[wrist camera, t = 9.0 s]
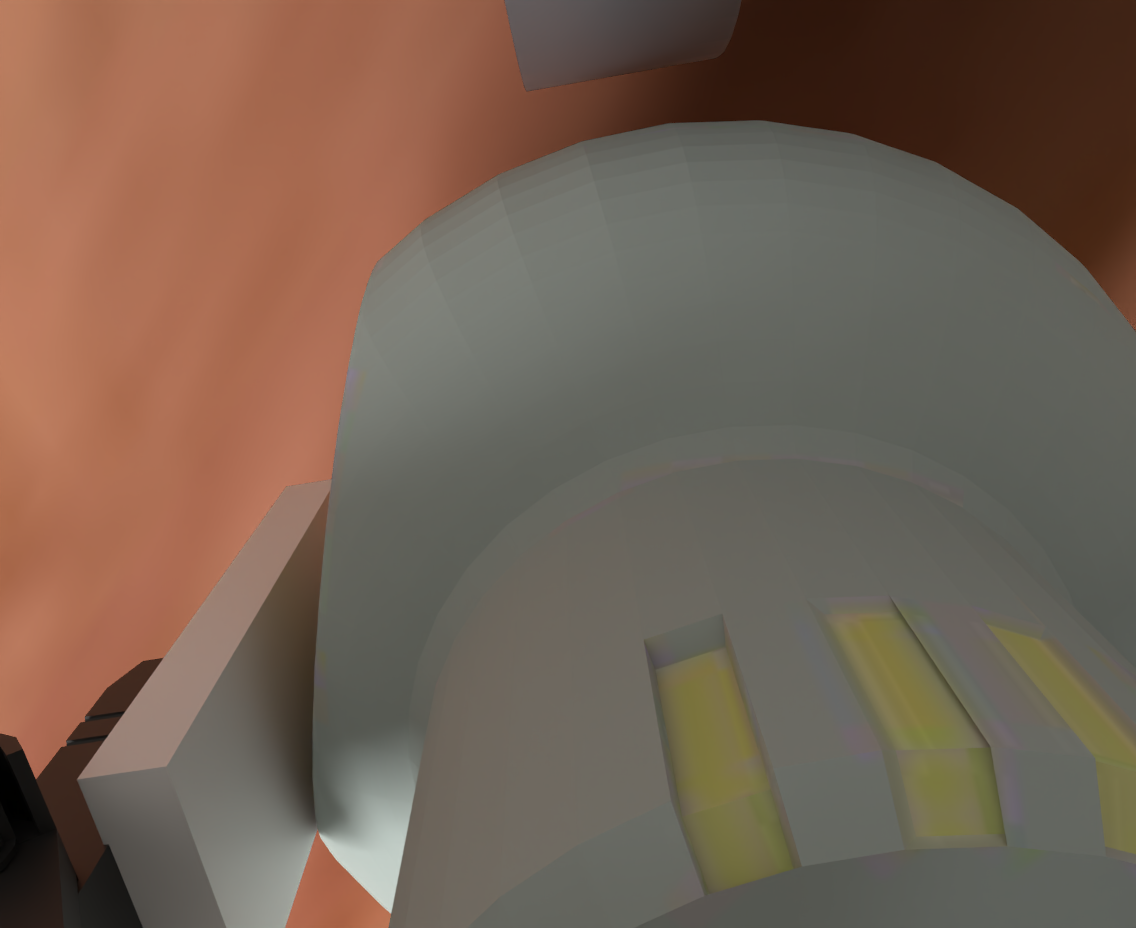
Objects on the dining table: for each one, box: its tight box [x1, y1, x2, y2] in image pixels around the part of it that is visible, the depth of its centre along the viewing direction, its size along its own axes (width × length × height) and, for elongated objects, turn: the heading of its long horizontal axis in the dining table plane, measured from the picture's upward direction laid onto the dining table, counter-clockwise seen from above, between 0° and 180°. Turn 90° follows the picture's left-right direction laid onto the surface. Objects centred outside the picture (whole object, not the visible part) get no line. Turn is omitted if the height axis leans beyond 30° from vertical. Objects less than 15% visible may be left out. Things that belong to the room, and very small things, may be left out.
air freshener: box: [312, 120, 1136, 928], centre depth 10 cm, size 11×8×10 cm
